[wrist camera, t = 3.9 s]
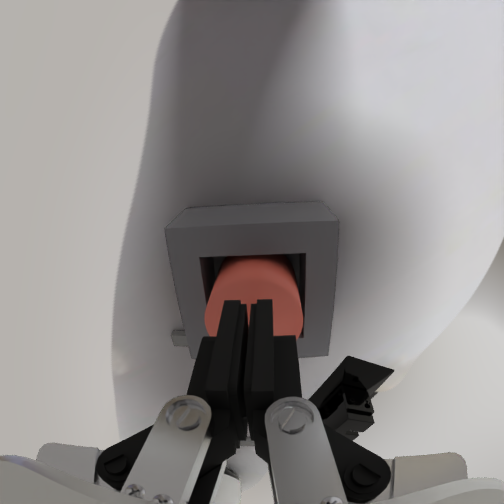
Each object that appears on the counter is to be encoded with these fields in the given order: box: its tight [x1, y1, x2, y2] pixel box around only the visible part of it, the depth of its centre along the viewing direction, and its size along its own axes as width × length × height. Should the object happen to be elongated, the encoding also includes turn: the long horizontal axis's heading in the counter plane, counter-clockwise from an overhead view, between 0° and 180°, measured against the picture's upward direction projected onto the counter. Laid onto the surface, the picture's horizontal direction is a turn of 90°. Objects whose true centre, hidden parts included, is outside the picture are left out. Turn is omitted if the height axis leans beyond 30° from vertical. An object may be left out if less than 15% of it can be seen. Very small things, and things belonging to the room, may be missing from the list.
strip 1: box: [171, 331, 188, 346], centre depth 20 cm, size 1×7×1 cm, turn 93°
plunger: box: [204, 254, 303, 340], centre depth 14 cm, size 4×4×4 cm
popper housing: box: [165, 201, 339, 359], centre depth 16 cm, size 8×8×4 cm
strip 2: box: [240, 437, 255, 446], centre depth 26 cm, size 1×7×1 cm, turn 93°
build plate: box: [308, 356, 394, 441], centre depth 21 cm, size 12×7×5 cm, turn 156°
